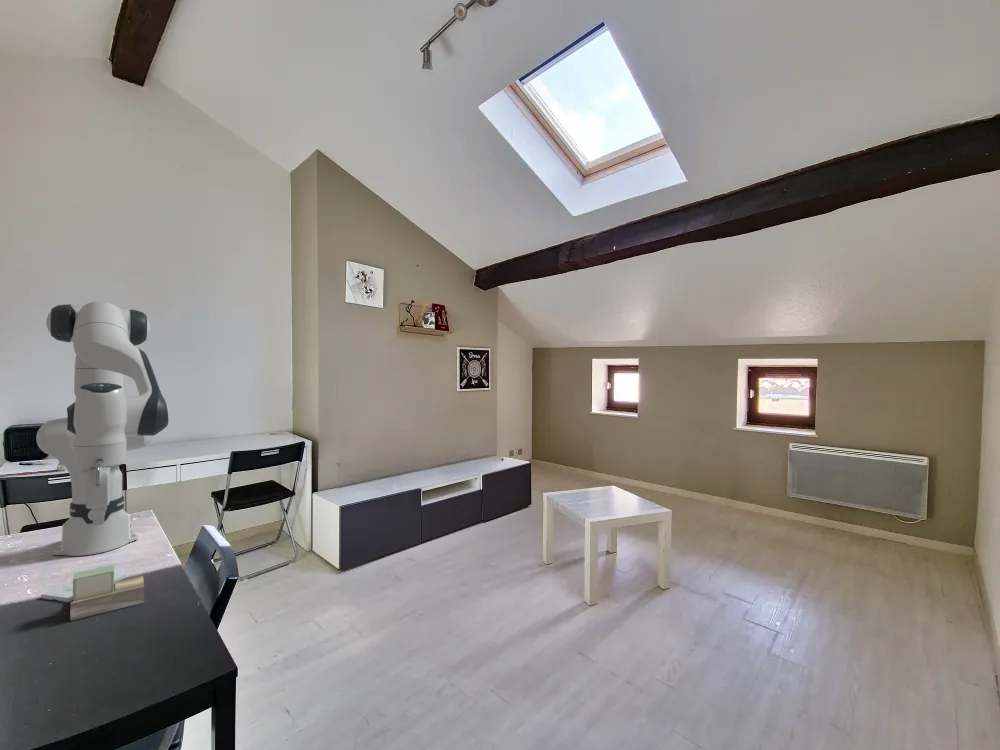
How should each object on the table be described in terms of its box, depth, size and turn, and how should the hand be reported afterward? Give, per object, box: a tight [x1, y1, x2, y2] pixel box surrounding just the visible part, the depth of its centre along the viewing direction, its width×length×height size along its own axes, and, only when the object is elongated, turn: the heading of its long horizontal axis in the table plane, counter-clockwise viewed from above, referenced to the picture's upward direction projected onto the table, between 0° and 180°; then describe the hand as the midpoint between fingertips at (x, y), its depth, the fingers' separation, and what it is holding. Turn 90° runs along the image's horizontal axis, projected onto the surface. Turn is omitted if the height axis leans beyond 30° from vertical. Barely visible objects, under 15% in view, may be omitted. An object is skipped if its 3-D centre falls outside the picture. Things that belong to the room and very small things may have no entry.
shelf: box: [69, 575, 145, 622], centre depth 100 cm, size 12×12×4 cm
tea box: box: [72, 564, 115, 602], centre depth 97 cm, size 4×6×6 cm, turn 130°
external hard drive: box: [40, 572, 126, 603], centre depth 106 cm, size 2×8×12 cm
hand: (99, 518), depth 98 cm, fingers open, 8 cm apart
